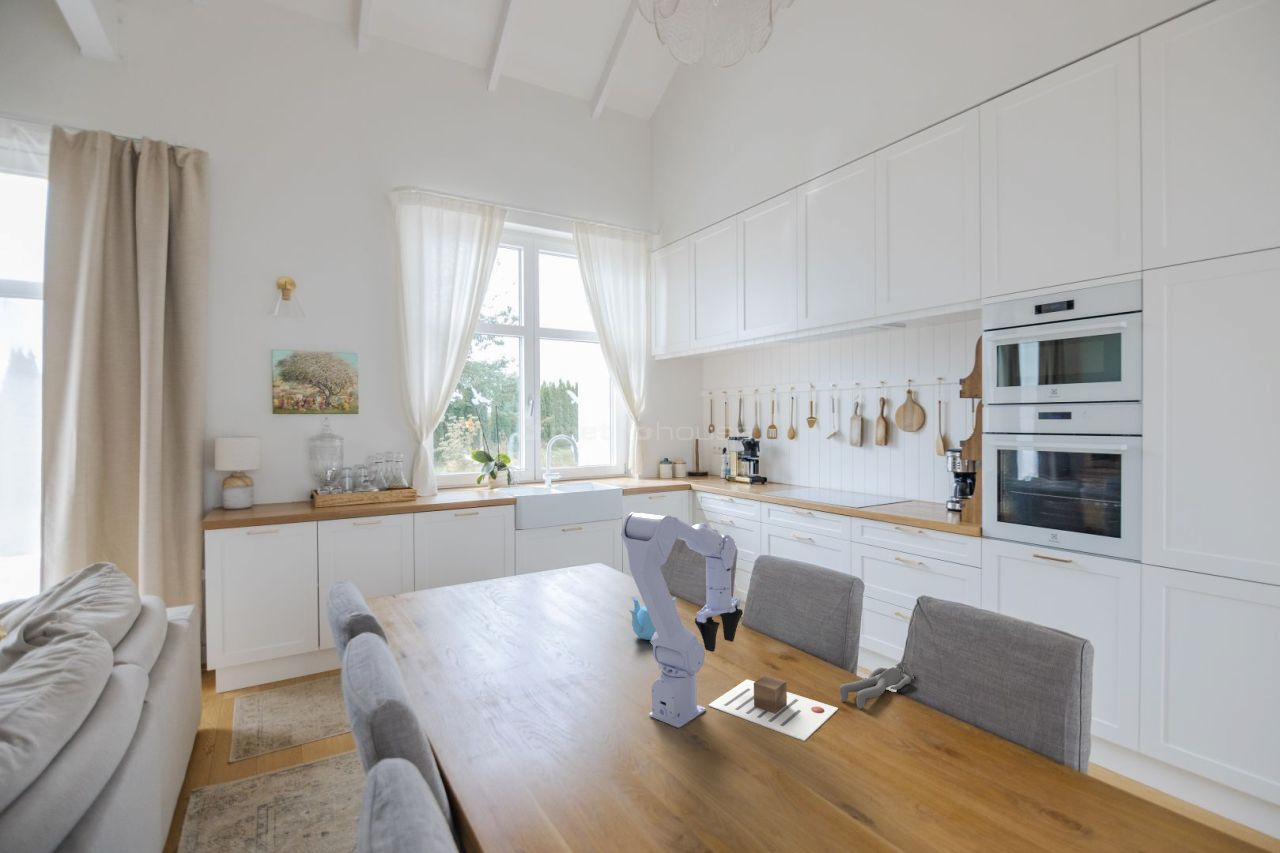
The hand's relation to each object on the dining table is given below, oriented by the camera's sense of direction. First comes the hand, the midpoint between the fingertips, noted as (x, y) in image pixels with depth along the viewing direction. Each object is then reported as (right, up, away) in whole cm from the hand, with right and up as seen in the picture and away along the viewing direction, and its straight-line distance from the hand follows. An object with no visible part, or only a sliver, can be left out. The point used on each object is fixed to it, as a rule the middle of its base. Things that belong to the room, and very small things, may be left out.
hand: (719, 645), depth 136 cm
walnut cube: (+9, -9, -10) cm, 16 cm away
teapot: (-14, -10, +31) cm, 35 cm away
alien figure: (+36, -5, -2) cm, 36 cm away
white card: (+10, -9, -10) cm, 17 cm away
